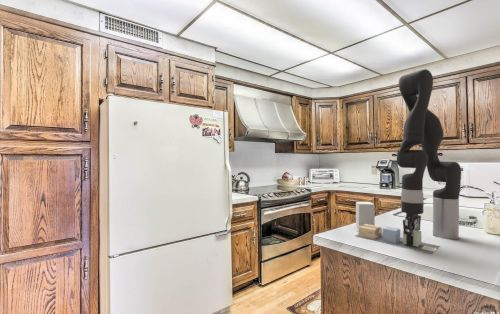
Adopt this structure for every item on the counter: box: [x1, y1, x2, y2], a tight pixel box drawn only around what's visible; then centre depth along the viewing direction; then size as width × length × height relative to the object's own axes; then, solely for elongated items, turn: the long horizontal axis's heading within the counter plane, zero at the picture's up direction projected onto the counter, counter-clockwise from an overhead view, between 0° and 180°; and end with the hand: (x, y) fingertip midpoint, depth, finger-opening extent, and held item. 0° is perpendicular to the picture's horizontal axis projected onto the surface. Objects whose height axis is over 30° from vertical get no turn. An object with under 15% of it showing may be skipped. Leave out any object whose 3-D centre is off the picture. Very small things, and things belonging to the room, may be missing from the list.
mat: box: [354, 233, 441, 255], centre depth 111 cm, size 12×29×1 cm, turn 42°
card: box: [422, 246, 438, 253], centre depth 101 cm, size 4×4×1 cm
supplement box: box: [355, 201, 376, 230], centre depth 131 cm, size 7×7×13 cm
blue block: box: [382, 225, 401, 243], centre depth 111 cm, size 5×5×5 cm
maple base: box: [358, 224, 382, 239], centre depth 118 cm, size 7×7×4 cm
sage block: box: [402, 230, 422, 247], centre depth 105 cm, size 5×5×5 cm
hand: (412, 243), depth 105 cm, fingers closed on sage block, 5 cm apart
